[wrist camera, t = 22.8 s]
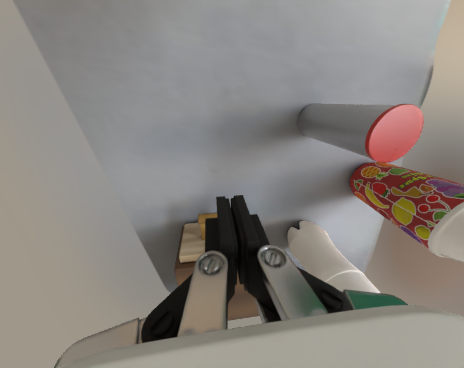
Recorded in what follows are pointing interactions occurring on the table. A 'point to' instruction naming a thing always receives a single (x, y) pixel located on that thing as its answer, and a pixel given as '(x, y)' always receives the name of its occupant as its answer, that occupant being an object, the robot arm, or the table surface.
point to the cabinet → (240, 302)
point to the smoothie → (415, 205)
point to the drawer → (194, 239)
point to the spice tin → (364, 128)
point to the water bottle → (325, 259)
